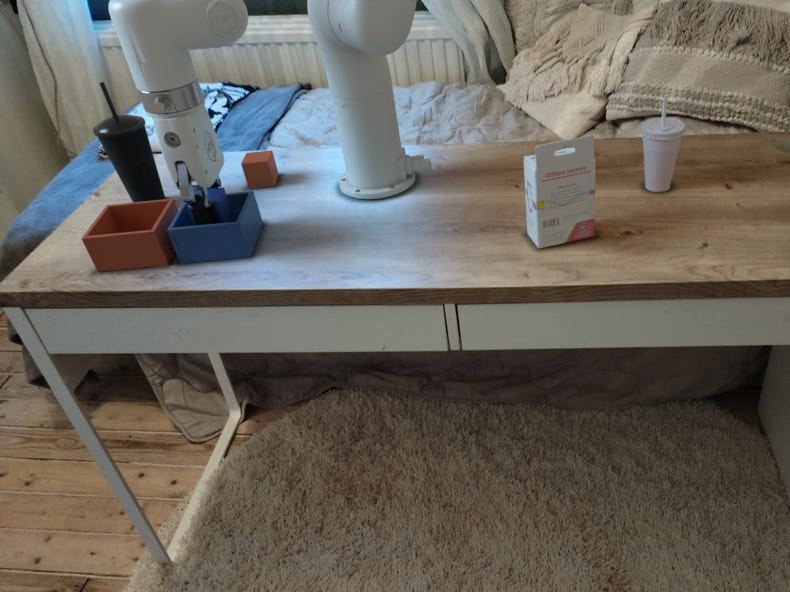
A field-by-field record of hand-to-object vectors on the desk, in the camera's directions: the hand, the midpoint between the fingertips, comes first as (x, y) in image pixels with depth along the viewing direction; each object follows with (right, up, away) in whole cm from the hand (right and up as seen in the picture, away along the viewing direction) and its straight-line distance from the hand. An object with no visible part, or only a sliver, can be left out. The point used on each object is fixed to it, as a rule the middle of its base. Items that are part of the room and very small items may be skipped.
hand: (214, 221), depth 103 cm
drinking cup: (-16, +5, +15) cm, 22 cm away
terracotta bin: (-12, -4, +2) cm, 12 cm away
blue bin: (0, -3, +2) cm, 4 cm away
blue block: (0, 0, 0) cm, 0 cm away
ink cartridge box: (+50, -3, -3) cm, 50 cm away
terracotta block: (+2, +10, +18) cm, 21 cm away
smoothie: (+66, +6, +6) cm, 67 cm away
